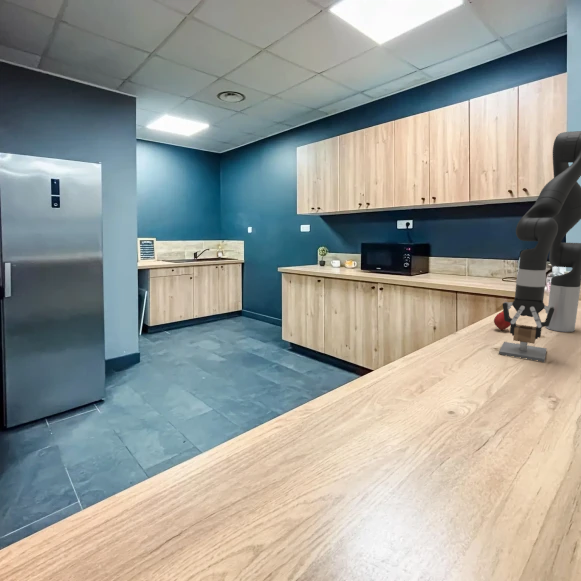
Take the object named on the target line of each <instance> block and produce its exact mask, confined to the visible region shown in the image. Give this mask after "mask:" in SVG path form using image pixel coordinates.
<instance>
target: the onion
mask: <svg viewBox="0 0 581 581" xmlns="http://www.w3.org/2000/svg"><path fill="white" fill-rule="evenodd" d="M509 317H510V318H511V315H509ZM493 323H494V325H495V326H496V328H498V329H499V330H500V331H505V330H506V329H509V327H511V324H510V323H509V322H507V321H505V320H504V312H503V310H502V311H500V312H499V313H498V314H496V315H495V316H494V319H493Z"/></svg>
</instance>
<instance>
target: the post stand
mask: <svg viewBox="0 0 581 581" xmlns="http://www.w3.org/2000/svg"><path fill="white" fill-rule="evenodd" d="M528 344H529V343H527V342H520V341H519V343H513V342H510V341H509V342H508V341H504V342H502V345H501V346H500V349H499V350H498V355H499V354H502V355H501V356H505V355H507V356H506V357H511V356H514V357H513V358H516V357H521V358H520V359H522V358H527V359H526V360H528V359H532V360H531V361H534V360H538V361H537V362H539V361H542V362H541V363H545V361H546V355H547V347H540V346H535V345H528Z"/></svg>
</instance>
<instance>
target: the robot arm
mask: <svg viewBox="0 0 581 581" xmlns="http://www.w3.org/2000/svg"><path fill="white" fill-rule="evenodd" d="M569 163H572V164H569ZM552 170H553V178H551V180H549V181H548V182H547V183H546V184H545V185H544V187H543V188H542V189H541V191H540V193H539V195H538V196H537V199H536V201H535V202H534V204H533V205H532V207H530V209H528V211H526V213H525V214H524V215H523V216H522V217H521V218H520V220H519V221H518V222H517V225H516V228H515V235H516V237H517V239H519V241H522V242H537V244H536V245H535V246H534V248H528V249H524V250H521V252H520V255H519V262H518V271H517V275H516V280H515V293H514V294H515V295H514V300H513V301H511V302H509V301H508V302H507V301H504V302H503V303H502V311H503V312H504V320H505V321H507V322H509V323H510V324H511V325H510V326H509V327H510V328H509V333H510V334H511V336H513V337H514V328H515V327H516V324H517V320H518V319H519V318H520V316H521V317H529V318H533V319H534V321H535V324H536V326H535V327H536V336H535V339H536V340H538V338H541V335H542V328H546V329H548V330H550V331H555V332H561V333H562V332H564V333H572V332H575V329H576V322H577V314H578V308H579V300H580V292H581V242H562V241H563V239H564V237H565V236H566V235H567V234H568V232H570V230H572V229H573V228H574V226H576V225H577V224H578V223H579V222H580V221H581V185H580V184H579V183H578V180H579V179H580V178H581V130H580V131H564V132H563V131H562V132H559V133H558V134H557V135H556V137H555V138H554V141H553V147H552ZM548 257H549V258H548ZM548 259H549V264H550V265H551V267H552V266H553V267H556V268H557V267H558V268H571V270H570V271H569V272H566V273H563V274H560V275H554V276H552V277H551V280H550V286H549V295H548V303H547V305H545V303H544V300H545V299H544V298H545V290H546V289H545V288H546V281H547V272H546V270H547V263H548V262H547V261H548ZM512 307H513V308H514V309H515V311H516V312H515V314H514V316H513V317H511V316H510V309H512ZM543 310H544V311H545V313H546V318H545V320H544V321H542V320H541V317H540V313H541V312H542V311H543ZM509 316H510V317H509Z"/></svg>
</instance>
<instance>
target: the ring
mask: <svg viewBox="0 0 581 581" xmlns="http://www.w3.org/2000/svg"><path fill="white" fill-rule="evenodd" d="M535 336H536V326H532V325H524V324H517V323H516V327H515V328H514V336H513V341H515V342H519V343H520V342H527V343H528V344H535V342H536V340H537V339H535Z"/></svg>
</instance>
